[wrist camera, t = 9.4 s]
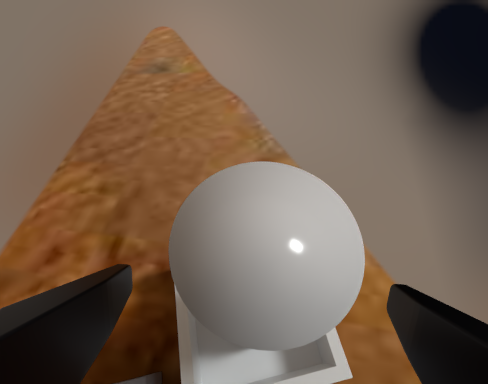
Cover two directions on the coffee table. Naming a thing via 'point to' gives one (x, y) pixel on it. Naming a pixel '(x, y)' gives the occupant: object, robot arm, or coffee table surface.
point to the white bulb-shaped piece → (266, 256)
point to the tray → (254, 358)
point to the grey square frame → (145, 379)
